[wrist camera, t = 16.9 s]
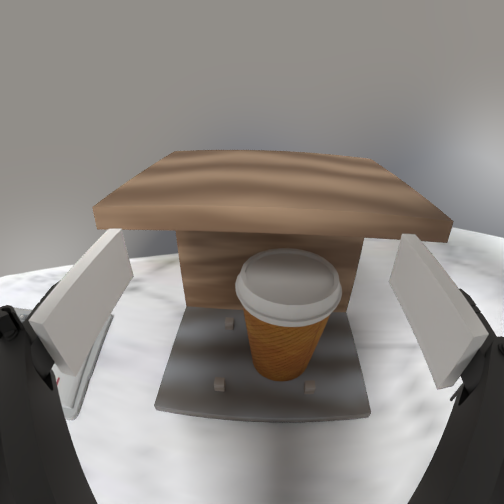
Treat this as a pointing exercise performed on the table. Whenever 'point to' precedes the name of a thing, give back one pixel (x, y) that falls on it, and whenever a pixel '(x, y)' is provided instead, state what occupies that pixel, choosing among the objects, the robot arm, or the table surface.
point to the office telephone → (76, 386)
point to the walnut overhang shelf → (249, 244)
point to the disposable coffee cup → (286, 308)
